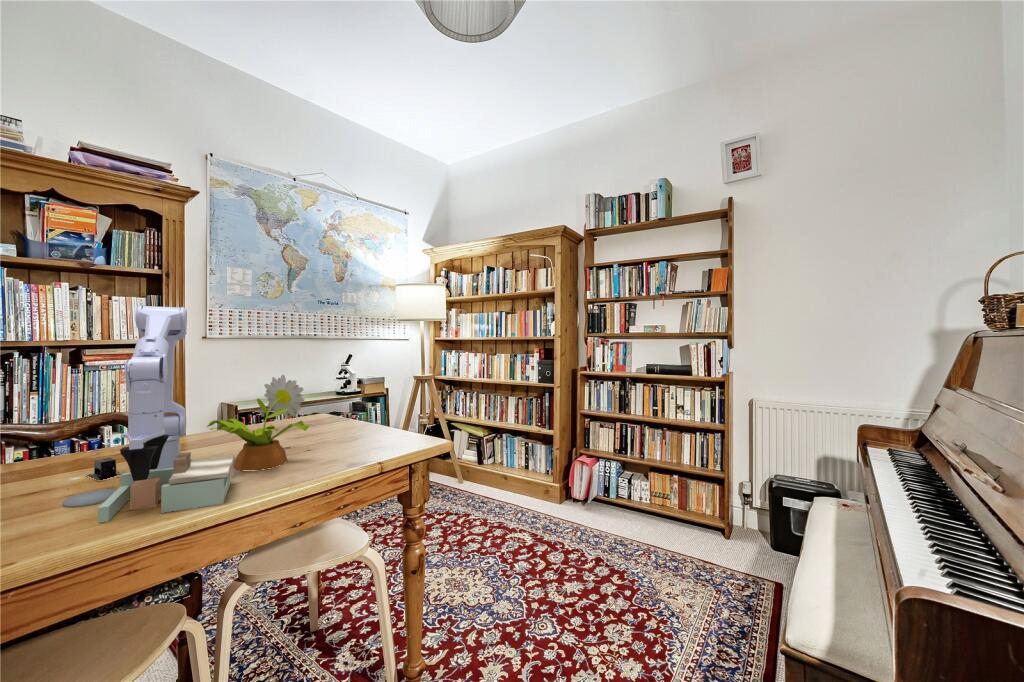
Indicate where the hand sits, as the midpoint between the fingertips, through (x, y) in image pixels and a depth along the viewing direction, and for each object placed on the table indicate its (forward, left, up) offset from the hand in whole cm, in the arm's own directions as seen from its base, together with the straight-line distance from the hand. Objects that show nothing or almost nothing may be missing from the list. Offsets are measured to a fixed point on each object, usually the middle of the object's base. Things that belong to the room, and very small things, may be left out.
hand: (145, 474), depth 87 cm
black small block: (-28, -14, -7) cm, 32 cm away
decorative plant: (-21, +19, -7) cm, 29 cm away
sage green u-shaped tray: (0, +4, -7) cm, 8 cm away
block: (0, 0, -7) cm, 7 cm away
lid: (0, +10, -1) cm, 10 cm away
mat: (-9, -11, -7) cm, 16 cm away
